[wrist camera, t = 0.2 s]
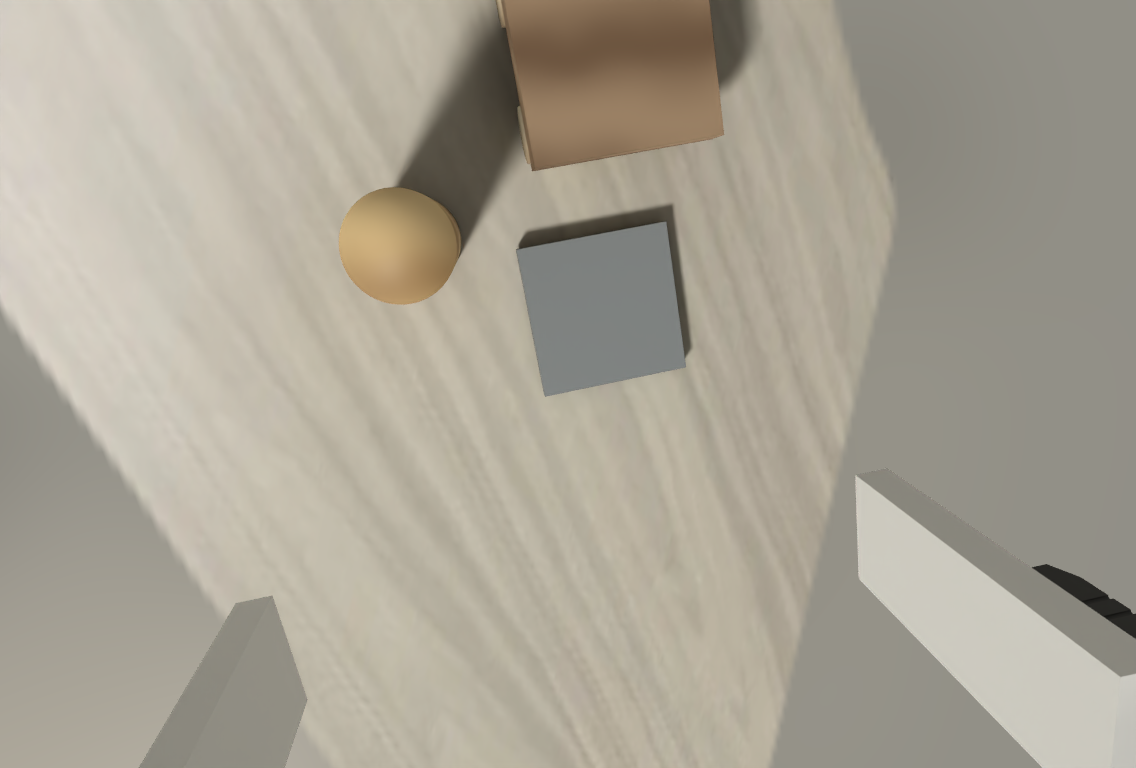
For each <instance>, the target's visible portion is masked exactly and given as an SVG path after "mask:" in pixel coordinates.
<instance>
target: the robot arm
mask: <svg viewBox="0 0 1136 768" xmlns="http://www.w3.org/2000/svg"><path fill="white" fill-rule="evenodd" d="M855 479H856V509H857V536H858V537H857V538H858V567H859V579H860V580H861V581H862V582H863V583H864V584H865V585H866V586H867V587H868V588H869V589H870V591H871V592H873V594H875V596H876V597H877V598H878V599H879V600H880V601H881V602H882V603H883V604H884V605H885V606H886V607H887V608H888V609H889V610H890V611H891V612H892V613H893V614H894V615H895V616H896V617H897V618H898V619H899V620H900V621H901V622H902V623H903V624H904V626H906V628H907V629H908V630H909V631H910V632H911V633H912V634H913V635H914V636H915V637H916V638H917V639H918V640H919V641H920V642H921V643H922V644H923V645H924V646H925V647H926V648H927V649H928V650H929V651H930V652H931V653H932V654H933V655H934V656H935V657H936V658H937V660H938V661H940V663H941V664H942V665H943V666H944V667H945V668H946V669H947V670H948V671H949V672H950V673H951V674H952V675H953V676H954V677H955V678H956V679H957V680H958V681H959V682H960V683H961V684H962V685H963V686H964V687H965V688H966V689H967V690H968V691H969V692H970V693H971V695H972V696H973V697H974V698H975V699H976V700H977V701H978V702H979V703H980V704H981V705H982V706H983V707H984V708H985V709H986V710H987V711H988V712H989V713H990V714H991V715H992V716H993V717H994V718H995V719H996V720H997V721H998V722H999V723H1000V724H1001V725H1002V726H1003V727H1004V729H1005V730H1006V731H1007V732H1008V733H1009V734H1010V735H1011V736H1012V737H1013V738H1014V739H1015V740H1016V741H1017V742H1018V743H1019V744H1020V745H1021V746H1022V747H1023V748H1024V749H1025V750H1026V751H1027V752H1028V753H1029V754H1030V755H1031V756H1032V757H1033V758H1034V759H1035V760H1036V761H1037V762H1038V764H1039V765H1041V767H1042V768H1136V614H1132V612H1131V610H1130V609H1129V608H1127V607H1126V606H1124V605H1123V604H1121V603H1119V602H1118V601H1116V600H1115V599H1109V597H1108V595H1107V594H1106V593H1104V592H1102V591H1101V590H1099V589H1098V588H1096V587H1095V586H1093V585H1092V584H1090V583H1089V582H1087V581H1085V580H1084V579H1082V578H1080V577H1078V576H1076V575H1073V574H1071V573H1068V572H1065V571H1063V570H1060V569H1058V568H1055V567H1052V566H1050V565H1047V564H1045V565H1041V566H1036V567H1032V568H1031V567H1030V566H1029V565H1027V564H1025V563H1024V562H1023V561H1021V560H1020V559H1018V558H1017V557H1015V556H1014V555H1012V554H1011V553H1010V552H1008V551H1007V550H1005V549H1004V548H1002V547H1001V546H999V545H998V544H996V543H995V542H994V541H992V540H991V539H989V538H988V537H986V536H985V535H983V534H982V533H980V532H979V531H978V530H976V529H975V528H973V527H972V526H970V525H969V524H967V523H966V522H964V521H963V520H961V519H960V518H959V517H957V516H956V515H954V514H953V513H951V512H950V511H948V510H947V509H946V508H944V507H943V506H941V505H940V504H938V503H937V502H935V501H934V500H932V499H931V498H930V497H928V496H927V495H925V494H923V493H922V492H921V491H919V490H918V489H916V488H915V487H914V486H912V485H910V484H909V483H908V482H906V481H905V480H903V479H902V478H900V477H899V476H898V475H896V474H895V473H893V472H892V471H890V470H889V469H882V470H877V471H872V472H867V473H863V474H857V475H855ZM306 703H307V697H306V694H305V691H304V688H303V685H302V682H301V679H300V676H299V673H298V670H297V667H296V664H295V661H294V658H293V655H292V652H291V649H290V646H289V643H288V640H287V637H286V635H285V632H284V629H283V626H282V623H281V620H280V617H279V614H278V611H277V608H276V605H275V602H274V599H273V596H269V597H264V598H259V599H254V600H250V601H245V602H240V603H236V604H235V606H234V607H233V609H232V611H231V613H230V614H229V616H228V618H227V619H226V621H225V623H224V624H223V626H222V628H221V630H220V631H219V633H218V635H217V636H216V638H215V640H214V642H213V643H212V645H211V646H210V648H209V650H208V652H207V653H206V655H205V657H204V658H203V660H202V662H201V663H200V665H199V667H198V668H197V670H196V672H195V674H194V676H193V677H192V679H191V680H190V682H189V684H188V685H187V687H186V689H185V690H184V692H183V694H182V696H181V697H180V699H179V701H178V703H177V704H176V706H175V707H174V709H173V711H172V712H171V714H170V716H169V718H168V719H167V721H166V723H165V724H164V726H163V728H162V730H161V731H160V733H159V735H158V736H157V738H156V740H155V742H154V743H153V745H152V747H151V748H150V750H149V752H148V753H147V755H146V757H145V758H144V760H143V762H142V763H141V765H140V767H139V768H284V767H285V765H286V762H287V759H288V756H289V752H290V750H291V747H292V744H293V741H294V738H295V735H296V732H297V729H298V726H299V723H300V720H301V717H302V714H303V711H304V708H305V706H306Z"/></svg>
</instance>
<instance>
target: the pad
mask: <svg viewBox="0 0 1136 768" xmlns="http://www.w3.org/2000/svg"><path fill="white" fill-rule="evenodd" d="M516 252H517V257H518V262H519V267H520V272H521V278H522V283H523V288H524V293H525V298H526V303H527V308H528V314H529V319H530V324H531V329H532V334H533V339H534V344H535V350H536V355H537V360H538V365H539V370H540V375H541V380H542V386H543V391H544V395H545V397H546V396H550V395H555V394H560V393H565V392H570V391H574V390H579V389H584V388H589V387H594V386H598V385H603V384H608V383H613V382H617V381H622V380H627V379H632V378H637V377H641V376H646V375H651V374H656V373H661V372H665V371H670V370H675V369H680V368H685V367H686V363H685V356H684V349H683V341H682V334H681V327H680V319H679V312H678V305H677V297H676V290H675V283H674V275H673V268H672V261H671V253H670V246H669V239H668V231H667V224H666V222H658V223H652V224H647V225H642V226H636V227H631V228H626V229H620V230H615V231H610V232H605V233H599V234H594V235H589V236H583V237H578V238H573V239H567V240H562V241H557V242H552V243H546V244H541V245H536V246H530V247H525V248H520V249H516Z"/></svg>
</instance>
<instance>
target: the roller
mask: <svg viewBox="0 0 1136 768" xmlns="http://www.w3.org/2000/svg"><path fill="white" fill-rule="evenodd" d="M339 251H340V256H341V260H342V263H343V266H344V268H345V270H346V272H347V274H348V275H349V277H350V278H351V280H352V281H353V282H354V283H355V284H356V285H357V286H358V287H359V288H360V289H361V290H362V291H363V292H365V293H366V294H368V295H369V296H371V297H373V298H375V299H377V300H380V301H382V302H386V303H390V304H412V303H416V302H419V301H422V300H424V299H426V298H428V297H430V296H432V295H433V294H434V293H436V292H437V291H438V290H439V289H440V288H441V287H442V286H443V285H444V284H445V282H446V281H447V280H448V278H449V276H450V275H451V273H452V271H453V268H454V266H455V264H456V262H457V260H458V258H459V255H460V251H461V234H460V230H459V227H458V224H457V222H456V220H455V219H454V217H453V216H452V214H451V213H450V212H449V211H448V210H447V209H446V208H445V207H444V206H443V205H441V204H440V203H438V202H437V201H435V200H433V199H431V198H429V197H427V196H425V195H423V194H421V193H419V192H416V191H413V190H410V189H406V188H396V187H391V188H383V189H379V190H376V191H373V192H371V193H369V194H367V195H365V196H364V197H362V198H361V199H360V200H358V201H357V202H356V203H355V204H354V205H353V206H352V207H351V209H350V210H349V211H348V213H347V215H346V216H345V218H344V220H343V223H342V226H341V230H340V234H339Z"/></svg>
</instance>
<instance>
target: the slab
mask: <svg viewBox="0 0 1136 768" xmlns="http://www.w3.org/2000/svg"><path fill="white" fill-rule="evenodd" d="M496 5H497V10H498V15H499V19H500V23H501V26H502V28H505V27H506V31H507V37H508V42H509V48H510V53H511V58H512V64H513V69H514V75H515V80H516V86H517V91H518V97H519V102H520V106H518V121H519V128H520V135H521V140H522V145H523V150H524V154H525V158H526V161H527V163H528V164H531V168H532V171H537V170H542V169H548V168H554V167H559V166H565V165H570V164H576V163H581V162H587V161H593V160H598V159H604V158H609V157H615V156H621V155H626V154H632V153H637V152H643V151H648V150H654V149H660V148H665V147H671V146H676V145H682V144H688V143H693V142H699V141H704V140H710V139H713V138H716V137H719V136H722V135H724V130H723V121H722V112H721V103H720V94H719V85H718V76H717V67H716V58H715V48H714V39H713V30H712V21H711V12H710V3H709V0H496Z"/></svg>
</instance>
